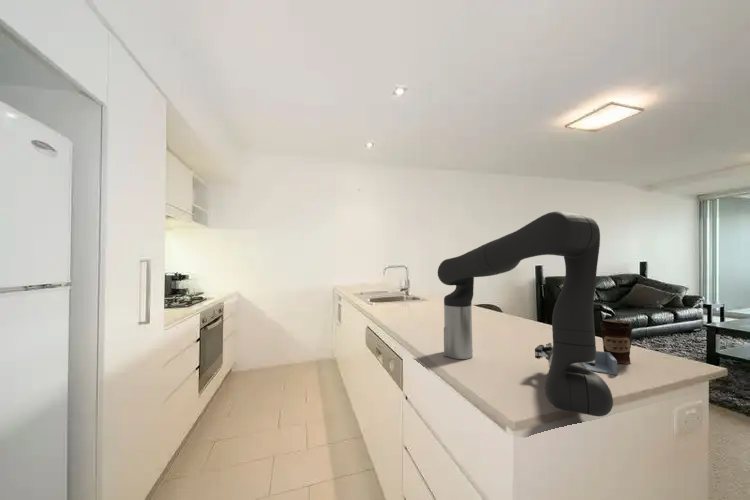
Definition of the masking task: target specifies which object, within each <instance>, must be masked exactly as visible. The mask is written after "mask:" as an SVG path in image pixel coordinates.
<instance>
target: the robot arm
mask: <svg viewBox="0 0 750 500" xmlns="http://www.w3.org/2000/svg"><path fill="white" fill-rule="evenodd" d="M600 232H601V231H600V226H599V225H598V223H597V221H596V220H594V219H593V218H592V217H590V216H588V215H583V214H578V213H573V212H567V211H556V210H555V211H551V212H550V211H549V212H547V213H545V214H543V215H541V216H539V217H537V218H536V219H534V220H532V221H530V222H529V223H527V224H525V225H524V226H522V227H521V228H519V229H517V230H515V231H513V232H510V233H508V234H506V235H504V236H501V237H499V238H497V239H494V240H491V241H489V242H487V243H485V244H483V245H480V246H478V247H477V248H474V249H472V250H469V251H467V252H466V253H463V254H461V255H459V256H455V257H450V258H447V259H444V260H442V261H441V262H440V265H438V267H437V268H438V269H437V278H438V279H439V281H440V282H441V283H442V284H444V285H446V286H455V289H454V291H451V292H450V293H449V294H447V295H445V296H444V299H443V319H444V320H443V321H444V324H443V325H444V327H443V356H444V357H448V358H450V359H451V358H452V359H456V360H469V359H471V358H473V356H474V355H473V354H474V353H473V352H474V351H473V319H472V317H473V316H472V314H473V313H472V311H473V310H472V308H473V306H472V305H473V304H472V301H473V299H474V298H473V297H474V287H475V286H474V284H475V281H474V280H475V278H481V277H483V278H484V277H491V276H495V275H496V276H497V275H500V274H504V273H508V272H509V271H510V272H511V271H512V270H514V269H515V268H517V266H518V265H519V264H520V263H521V261H523V260H525V259H529V258H533V257H539V256H546V255H547V256H558V257H563V259H564V264H565V276H564V280H563V285H562V288H561V290H560V293H559V295H558V297H557V299H556V301H555V304H554V307H553V310H552V315H551V326H552V327H551V328H552V342H548V343H546V344H545V345H544V344H539V345H537V346H536V347H535V348H534V358H535V359H538V360H539V359H543V358H545V359H546V360H547V361H548V367H549V369H548V372H547V376H546V379H545V384H544V393H545V397H546V399H547V400H548V402H549V403H550V405H551V406H552V407H553V408H556V409H559V410H563V411H568V412H571V413H573V412H574V413H579V414H583V415H587V416H592V417H605V416H607V415H608V414H610V412H611V411H612V409H613V406H614V399H613V398H614V396H613V394H612V391H611V390H610V387H609V385H608V384H607V383H606V381H605V380H604V379H603V378H602V377H601V376H600V375H599V374H597V373H596V372H593V371H590V370H588V369H587V367H586V365H585V363H584V362H586V364H589V365H591V366H595V358H596V351H597V346H596V342H597V341H596V331H595V315H594V302H595V300H594V299H595V290H596V282H597V273H598V272H597V271H598V262H599V254H600V247H601V245H600V244H601V233H600Z"/></svg>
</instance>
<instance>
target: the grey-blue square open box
mask: <svg viewBox="0 0 750 500" xmlns="http://www.w3.org/2000/svg"><path fill="white" fill-rule="evenodd" d="M584 363H585V365H586V367H587V369H588V370H590V371H592V372H594V373H601V374H608V375H613V376H614V375H616V376H618V375H619V374H618V373H619V372H618V363H617V360H616V359H615V358H614V357H613V356H612V355H611V353H610V352H604V351H601V350H596V358H595V366H591V365H589V364H586V362H584Z"/></svg>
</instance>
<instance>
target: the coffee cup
mask: <svg viewBox="0 0 750 500" xmlns="http://www.w3.org/2000/svg"><path fill="white" fill-rule="evenodd" d="M599 326H600V333H601V340H602V345H603V349H602V350H603V352H610V353H611V355H612V356H613V357H614V358H615V359H616V360H617V364H623V365H624V364H626V365H627V364H632V362H631V357H630V356H631V347H632V332H633V330H634V326H633V325H632V324H631V321H627V320H624V319H623V320H622V319H608V318H607V319H602V321H601V322H600V323H599Z"/></svg>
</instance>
